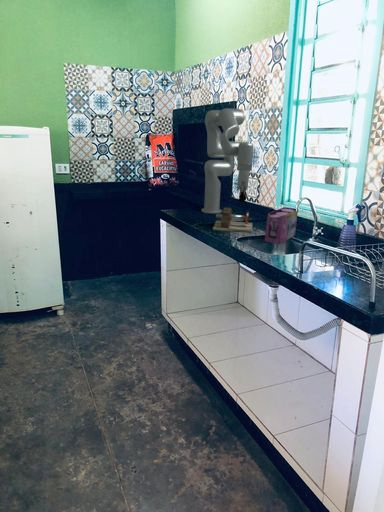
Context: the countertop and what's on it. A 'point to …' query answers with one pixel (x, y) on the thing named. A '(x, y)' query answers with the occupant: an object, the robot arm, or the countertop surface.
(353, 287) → the countertop surface
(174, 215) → the countertop surface
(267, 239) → the gum box
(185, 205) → the countertop surface
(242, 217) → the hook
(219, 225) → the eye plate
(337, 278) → the countertop surface
